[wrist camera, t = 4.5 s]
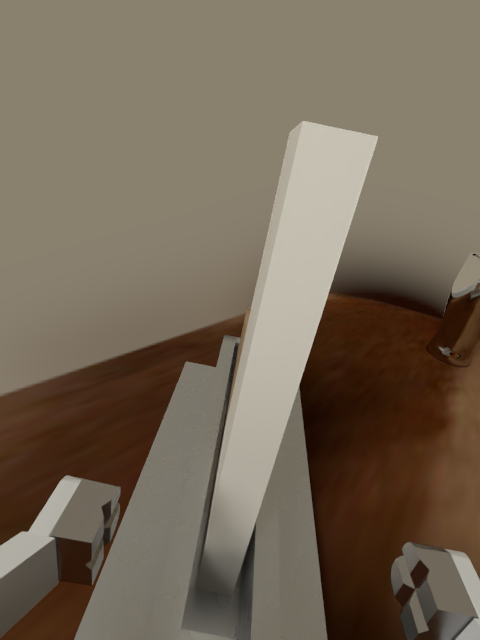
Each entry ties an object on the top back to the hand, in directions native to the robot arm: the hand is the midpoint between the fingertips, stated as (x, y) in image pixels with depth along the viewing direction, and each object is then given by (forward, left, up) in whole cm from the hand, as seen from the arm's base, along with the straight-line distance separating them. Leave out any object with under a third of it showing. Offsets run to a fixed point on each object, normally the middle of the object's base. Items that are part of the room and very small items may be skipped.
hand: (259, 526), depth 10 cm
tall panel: (-2, -8, -12) cm, 14 cm away
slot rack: (-2, -12, -13) cm, 18 cm away
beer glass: (-38, -35, -14) cm, 54 cm away
